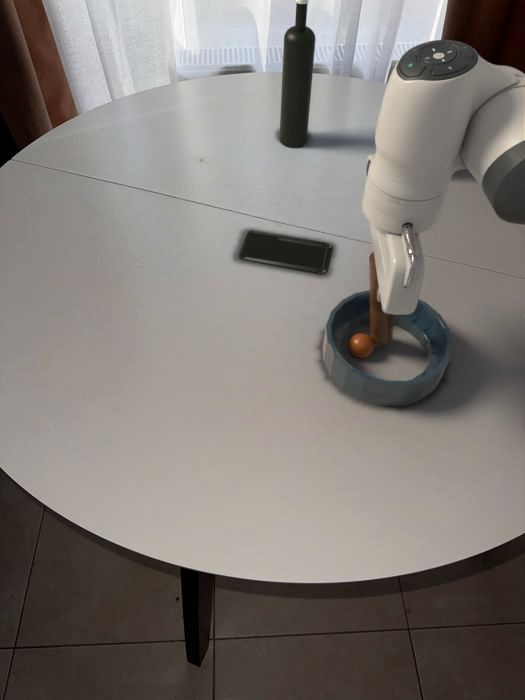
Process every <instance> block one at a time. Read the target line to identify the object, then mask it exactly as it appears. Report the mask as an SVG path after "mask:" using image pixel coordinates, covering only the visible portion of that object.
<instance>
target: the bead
mask: <svg viewBox="0 0 525 700" xmlns="http://www.w3.org/2000/svg"><path fill="white" fill-rule="evenodd" d="M374 348H375V344H374V342H373V340H372V338H371V337H370V335H369V334H367V333H364V332H358V333H356V334H354V335H353V336H351V338H350V339H349V342H348V350H349V352H350V354H351V355H353V356H354V357H356V358H359V359H364V358H367V357H369V356H370V355H371V354H372V353H373V351H374Z"/></svg>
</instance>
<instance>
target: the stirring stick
mask: <svg viewBox="0 0 525 700" xmlns="http://www.w3.org/2000/svg"><path fill="white" fill-rule="evenodd" d="M368 267H369V268H368V269H369V273H368V274H369V275H368V276H369V290H370V323H369V330H370V331H369V333H370V335H369V336H370V337H371V338H372V340H373V342H374V345H376V346H380V347H384V346H387V345H389V344H390V343H391V342H392V341H393V340H394V339H393V338H394V325H393V314H386V313H384V312H383V310H382V305H381V302H379V301H378V300H377V294H376V291H377V287H378V278H377V271H376V265H375V258H374V251H372V252H370V254H369V257H368Z"/></svg>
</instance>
